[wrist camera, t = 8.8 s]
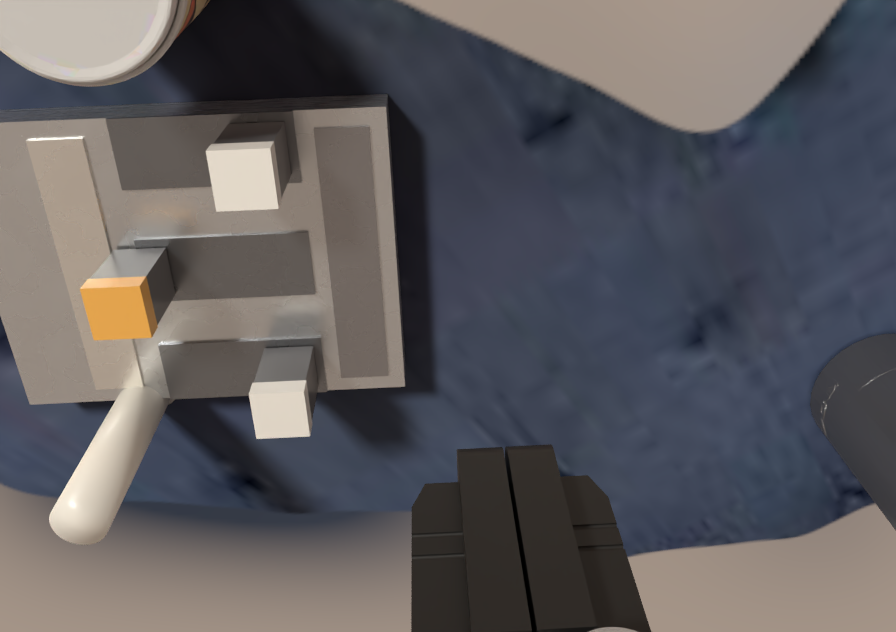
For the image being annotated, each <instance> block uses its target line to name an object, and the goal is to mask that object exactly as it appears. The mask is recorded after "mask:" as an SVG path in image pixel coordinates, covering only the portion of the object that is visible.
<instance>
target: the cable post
mask: <svg viewBox="0 0 896 632" xmlns="http://www.w3.org/2000/svg"><path fill="white" fill-rule="evenodd" d="M174 400H175V399H170V398H162V396H161V395H160V394H159V393H158V392H157V391H156V390H154V389H152V388H150V387H148V386H144V387H129V388H124V389H123V390H122V391H121V392H120V394H119V395H118V397H117V399H116V400H115V402H114V404H113V406H112V407H111V409H110V411H109V413H108V414H107V416H106V418H105V420H104V421H103V423H102V425H101V426H100V428H99V430H98V432H97V433H96V435H95V437H94V439H93V440H92V442H91V444H90V445H89V447H88V449H87V451H86V452H85V454H84V456H83V458H82V459H81V461H80V463H79V465H78V466H77V468H76V470H75V471H74V473H73V475H72V477H71V478H70V480H69V482H68V484H67V485H66V487H65V489H64V491H63V492H62V494H61V496H60V497H59V499H58V501H57V503H56V504H55V506H54V508H53V510H52V511H51V513H50V517H49V521H50V525H51V528H52V529H53V531H54V532H55V533H56V534H57V535H58V536H59V537H61V538H62V539H64V540H66V541H68V542H71V543H74V544H80V545H88V544H94V543H97V542H99V541H100V540H102V539H103V538H104V537H105V536H106V534H107V533H108V530H109V528H110V526H111V524H112V522H113V520H114V517H115V516H116V514H117V511H118V509H119V507H120V505H121V503H122V501H123V499H124V497H125V494H126V492H127V490H128V488H129V486H130V484H131V482H132V480H133V478H134V475H135V473H136V471H137V469H138V467H139V465H140V463H141V461H142V458H143V456H144V454H145V452H146V450H147V448H148V446H149V444H150V441H151V439H152V437H153V435H154V433H155V431H156V429H157V427H158V425H159V422H160V420H161V418H162V416H163V414H164V412H165V410H166V408H167V405H169V404H171V403H172V402H173V401H174Z"/></svg>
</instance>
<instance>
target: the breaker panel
mask: <svg viewBox="0 0 896 632" xmlns="http://www.w3.org/2000/svg"><path fill="white" fill-rule="evenodd" d="M260 122H285V130H286V138H287V146H288V153H289V161H290V169H291V177H290V179H289V182H288V184H287V187H286V189H285V191H284V194H283V196H282V202H281V204H280V207H279V209H266V210H243V211H220V212H216V207H215V201H214V196H213V190H212V184H211V179H210V173H209V168H208V162H207V156H206V150H207V148H208V147H209V146H210V145H211V144H213V143H214V142H215V141H216V139H217V138H218V137H219V136H220V134H221V133H222V132H223V130H224V129H225V128H226V126H227V125H228V124H236V123H260ZM145 248H166V251H167V256H168V260H169V265H170V270H171V275H172V279H173V284H174V289H175V293H176V294H175V296H174V298H173V299H172V301H171V303H170V305H169V306H168V308H167V310H166V312H165V313H164V315H163V317H162V318H161V320H160V322H159V324H158V328H157V330H156V331H155V333H154V335H153V337H152V338H138V339H116V340H94V339H93V336H92V332H91V328H90V325H89V321H88V317H87V314H86V310H85V306H84V303H83V299H82V296H81V292H80V288H81V287H82V285H83V284H84V283H85V282H86V281H87V279H90V278H91V277H92V275H93V274H94V273H95V272H96V271H97V269H98V268H99V267H100V266H101V265H102V263H103V262H104V261H105V260H106V258H107V257H108V256H109V255H110V254H111V252H112V251H113V250H123V249H145ZM0 316H1V319H2V322H3V325H4V328H5V331H6V334H7V337H8V340H9V343H10V346H11V349H12V352H13V355H14V358H15V361H16V364H17V367H18V370H19V373H20V376H21V379H22V382H23V385H24V388H25V391H26V394H27V397H28V400H29V403H30V404H51V403H72V402H93V401H114V400H116V399H117V397H118V395H119V394H120V392H121V391H122V390H123V389H124V388H129V387H144V386H148V387H150V388H152V389H154V390H156V391H157V392H158V393H159V394H160V395H161V396H162V398H170V399H191V398H212V397H233V396H249V392H250V389H251V385H252V383H254V380H255V377H256V374H257V371H258V367H259V364H260V361H261V358H262V355H263V352H264V349H265V348H282V347H303V346H313V349H314V357H315V364H316V372H317V380H318V391H317V392H327V390H344V389H365V388H386V387H405V348H404V333H403V318H402V303H401V288H400V273H399V258H398V243H397V228H396V213H395V198H394V182H393V167H392V152H391V137H390V122H389V107H388V94H375V95H350V96H326V97H302V98H277V99H253V100H228V101H204V102H180V103H155V104H131V105H107V106H82V107H58V108H34V109H9V110H0Z"/></svg>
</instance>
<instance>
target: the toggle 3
mask: <svg viewBox="0 0 896 632" xmlns="http://www.w3.org/2000/svg"><path fill="white" fill-rule="evenodd" d="M317 391H318V380H317V372H316V364H315V357H314V349H313V346H303V347H282V348H265V349H264V352H263V355H262V358H261V361H260V364H259V367H258V371H257V374H256V377H255V380H254V383H252V385H251V389H250V392H249V399H250V405H251V410H252V416H253V422H254V427H255V433H256V439H265V438H285V437H306V436H310V434H311V429H312V418H313V412H314V407H315V402H316V396H317Z"/></svg>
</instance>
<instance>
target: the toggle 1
mask: <svg viewBox="0 0 896 632" xmlns="http://www.w3.org/2000/svg"><path fill="white" fill-rule="evenodd" d="M80 292H81V296H82V299H83V303H84V306H85V310H86V314H87V317H88V321H89V325H90V328H91V332H92V336H93V339H94V340H116V339H138V338H152V337H153V335H154V333H155V331H156V330H157V328H158V324H159V322H160V320H161V318H162V317H163V315H164V313H165V312H166V310H167V308H168V306H169V305H170V303H171V301H172V299H173V298H174V296H175V294H176V293H175V289H174V284H173V279H172V275H171V270H170V265H169V260H168V256H167V251H166V248H145V249H123V250H113V251H112V252H111V254H110V255H109V256H108V257H107V258H106V260H105V261H104V262H103V263H102V265H101V266H100V267H99V268H98V269H97V271H96V272H95V273H94V274H93V275H92V277H91V278H90V279H87V281H86V282H85V283H84V284H83V285H82V287H81V288H80Z"/></svg>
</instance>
